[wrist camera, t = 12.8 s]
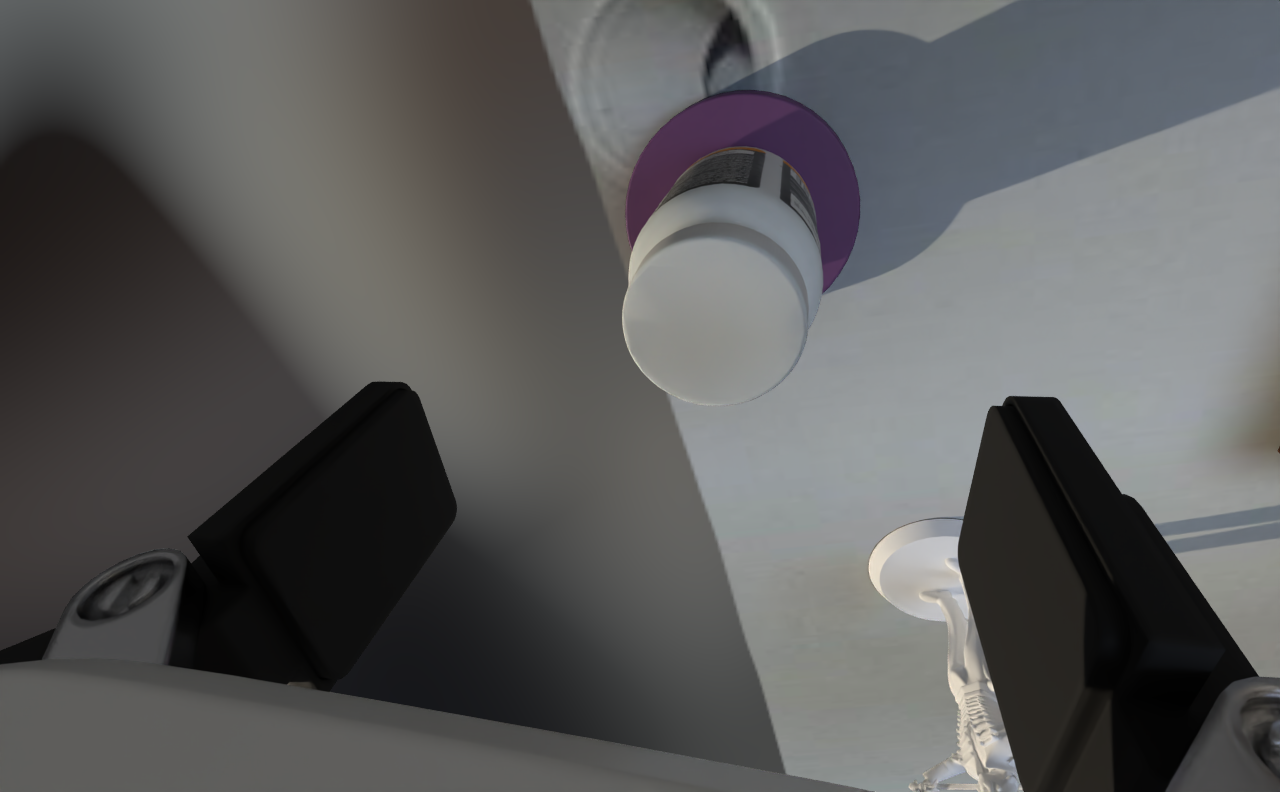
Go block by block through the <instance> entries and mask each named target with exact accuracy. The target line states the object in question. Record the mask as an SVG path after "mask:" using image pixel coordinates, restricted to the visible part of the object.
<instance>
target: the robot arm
mask: <svg viewBox="0 0 1280 792" xmlns="http://www.w3.org/2000/svg"><path fill="white" fill-rule="evenodd" d="M456 512H457V505H456V500H455V497H454V495H453V492H452V489H451V486H450V483H449V480H448V477H447V475H446V472H445V469H444V466H443V463H442V460H441V458H440V455H439V452H438V449H437V446H436V444H435V441H434V438H433V435H432V432H431V429H430V427H429V424H428V421H427V418H426V416H425V412H424V409H423V407H422V404H421V401H420V398H419V396H418V394H417V393H416V392H415V391H412V390H411V388H410V387H409V386H408V385H407V384H405V383H403V382H371V383H370V384H368V385H367V386H365V387H364V388H363V389H362V390H361V391H360V392H358V393H357V394H356V395H355V396H354V397H353V398H351V399H350V400H349V401H348V402H347V403H345V404H344V405H343V406H342V407H341V408H339V409H338V410H337V411H336V412H335V413H333V414H332V415H331V416H330V417H329V418H328V419H326V420H325V421H324V422H323V423H322V424H320V425H319V426H318V427H317V428H316V429H314V430H313V431H312V432H311V433H310V434H309V435H307V436H306V437H305V438H304V439H303V440H301V441H300V442H299V443H298V444H297V445H295V446H294V447H293V448H292V449H291V450H290V451H288V452H287V453H286V454H285V455H284V456H283V457H281V458H280V459H279V460H278V461H276V462H275V463H274V464H273V465H272V466H271V467H269V468H268V469H267V470H266V471H265V472H263V473H262V474H261V475H260V476H259V477H257V478H256V479H255V480H254V481H253V482H252V483H250V484H249V485H248V486H247V487H246V488H244V489H243V490H242V491H241V492H240V493H239V494H237V495H236V496H235V497H234V498H233V499H231V500H230V501H229V502H228V503H227V504H226V505H224V506H223V507H222V508H221V509H220V510H218V511H217V512H216V513H215V514H214V515H212V516H211V517H210V518H209V519H208V520H207V521H205V522H204V523H203V524H202V525H201V526H199V527H198V528H197V529H196V530H195V531H194V532H192V533H191V534H190V535H189V536H188V538H189V540H190V541H191V543H192V544H193V546H194V547H195V548H196V550H197V551H198V553H199V554H200V556H199V557H198V558H197V559H196V560H195V561H194V562H193V563H190V561H189V560H188V559H187V557H186V556H185V555H184V554H183V553H182V552H181V551H179V550H175V549H170V548H168V549H156V550H152V551H148V552H145V553H141V554H137V555H135V556H133V557H130V558H128V559H126V560H123V561H121V562H119V563H117V564H115V565H114V566H112V567H110V568H108V569H106V570H105V571H103V572H102V573H100V574H99V575H97V576H96V577H94V578H93V579H92V580H90V581H89V582H88V583H87V584H85V585H84V586H83V587H82V588H81V589H80V590H79V591H78V592H77V593H76V594H75V595H74V596H73V597H72V599H71V600H70V601H69V603H68V604H67V606H66V608H65V609H64V611H63V614H62V616H61V618H60V620H59V623H58V625H57V627H56V628H55V629H52V630H50V631H47V632H45V633H42V634H40V635H38V636H35V637H33V638H30V639H28V640H25V641H23V642H21V643H18V644H16V645H13V646H11V647H8V648H6V649H3V650H1V651H0V792H873V791H868V790H863V789H858V788H853V787H848V786H843V785H838V784H834V783H829V782H823V781H818V780H813V779H807V778H802V777H796V776H791V775H785V774H780V773H775V772H769V771H764V770H758V769H753V768H747V767H742V766H737V765H731V764H726V763H721V762H715V761H710V760H704V759H699V758H693V757H688V756H683V755H677V754H672V753H666V752H661V751H656V750H650V749H645V748H639V747H633V746H629V745H623V744H618V743H612V742H607V741H601V740H595V739H590V738H585V737H579V736H574V735H568V734H562V733H557V732H551V731H546V730H540V729H535V728H529V727H523V726H518V725H512V724H507V723H501V722H496V721H490V720H485V719H479V718H473V717H468V716H462V715H457V714H451V713H445V712H439V711H434V710H429V709H423V708H417V707H412V706H406V705H400V704H395V703H389V702H384V701H378V700H371V699H366V698H360V697H354V696H349V695H343V694H337V693H332V692H330V690H331V689H332V687H333V686H334V684H335V683H336V682H337V680H339V679H341V678H343V677H344V676H346V675H347V674H348V673H349V671H350V670H351V669H352V667H353V666H354V664H355V663H356V662H357V660H358V659H359V657H360V656H361V654H362V653H363V651H364V650H365V649H366V647H367V646H368V644H369V643H370V641H371V640H372V638H373V637H374V635H375V634H376V633H377V631H378V630H379V628H380V627H381V625H382V624H383V623H384V621H385V620H386V618H387V617H388V615H389V614H390V612H391V611H392V610H393V608H394V607H395V605H396V604H397V602H398V601H399V600H400V598H401V597H402V595H403V594H404V592H405V591H406V589H407V588H408V586H409V585H410V583H411V582H412V581H413V579H414V578H415V576H416V575H417V574H418V572H419V571H420V569H421V568H422V566H423V565H424V563H425V562H426V561H427V559H428V558H429V556H430V555H431V553H432V552H433V551H434V549H435V548H436V546H437V545H438V543H439V542H440V540H441V539H442V538H443V536H444V535H445V533H446V532H447V530H448V529H449V527H450V526H451V525H452V523H453V521H454V519H455V517H456ZM958 563H959V568H960V571H961V575H962V578H963V582H964V586H965V589H966V593H967V596H968V600H969V603H970V607H971V610H972V614H973V617H974V621H975V624H976V628H977V631H978V635H979V638H980V642H981V646H982V649H983V653H984V656H985V660H986V663H987V667H988V670H989V674H990V677H991V681H992V684H993V688H994V691H995V695H996V699H997V702H998V706H999V709H1000V713H1001V716H1002V720H1003V723H1004V727H1005V730H1006V734H1007V737H1008V741H1009V744H1010V748H1011V752H1012V755H1013V759H1014V762H1015V766H1016V769H1017V773H1018V776H1019V780H1020V783H1021V786H1022V789H1023V791H1024V792H1280V678H1273V677H1259V676H1258V674H1257V673H1256V671H1255V670H1254V668H1253V667H1252V666H1251V664H1250V663H1249V661H1248V660H1247V658H1246V657H1245V655H1244V654H1243V653H1242V651H1241V650H1240V648H1239V647H1238V645H1237V644H1236V642H1235V641H1234V640H1233V638H1232V637H1231V635H1230V634H1229V632H1228V631H1227V629H1226V628H1225V626H1224V625H1223V624H1222V622H1221V621H1220V619H1219V618H1218V616H1217V615H1216V613H1215V612H1214V611H1213V609H1212V608H1211V606H1210V605H1209V603H1208V602H1207V600H1206V599H1205V598H1204V596H1203V595H1202V593H1201V592H1200V590H1199V589H1198V587H1197V586H1196V585H1195V583H1194V582H1193V580H1192V579H1191V577H1190V576H1189V574H1188V573H1187V571H1186V570H1185V569H1184V567H1183V566H1182V564H1181V563H1180V561H1179V560H1178V558H1177V557H1176V556H1175V554H1174V553H1173V551H1172V550H1171V548H1170V547H1169V545H1168V544H1167V543H1166V541H1165V540H1164V538H1163V537H1162V535H1161V534H1160V532H1159V531H1158V530H1157V528H1156V527H1155V525H1154V524H1153V522H1152V521H1151V519H1150V518H1149V516H1148V515H1147V514H1146V512H1145V511H1144V509H1143V508H1142V506H1141V505H1140V504H1139V503H1138V502H1137V501H1136V500H1135V499H1134V498H1132V497H1130V496H1128V495H1126V494H1121V492H1120V491H1119V489H1118V488H1117V486H1116V485H1115V483H1114V482H1113V480H1112V479H1111V477H1110V476H1109V474H1108V473H1107V471H1106V470H1105V468H1104V467H1103V465H1102V464H1101V462H1100V461H1099V459H1098V458H1097V456H1096V455H1095V453H1094V452H1093V450H1092V449H1091V447H1090V446H1089V444H1088V443H1087V441H1086V440H1085V438H1084V437H1083V435H1082V434H1081V432H1080V431H1079V429H1078V428H1077V426H1076V425H1075V423H1074V422H1073V420H1072V419H1071V417H1070V416H1069V414H1068V413H1067V411H1066V410H1065V408H1064V407H1063V405H1062V404H1061V402H1060V401H1059V400H1058V399H1057V398H1054V397H1025V396H1009V397H1007V398H1006V399H1005V401H1004V403H1003V406H992V407H990V409H989V411H988V414H987V418H986V422H985V427H984V431H983V435H982V440H981V444H980V449H979V453H978V457H977V462H976V466H975V471H974V475H973V480H972V484H971V488H970V493H969V497H968V502H967V506H966V510H965V515H964V519H963V524H962V528H961V532H960V537H959V542H958ZM287 684H288V685H287Z"/></svg>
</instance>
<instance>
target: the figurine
mask: <svg viewBox="0 0 1280 792" xmlns="http://www.w3.org/2000/svg"><path fill="white" fill-rule="evenodd" d="M962 524H963V520H958V519H932V520H923V521H919V522H915V523H911V524H908V525H906V526H904V527H901V528H899V529H897V530H895V531H894V532H892V533H890V534H889V535H887V536H886V537H885V538H884V539H883V540H882V541H881V542H879V543H878V545H877V546H876V548H875V549H874V551H873V552H872V555H871V557H870V560H869V574H870V578H871V581H872V583H873V585H874V586H875V588H876V589H877V590H878V592H879V593H880V594H881V595H882V596H883V597H884V598H885V599H887V600H888V601H889V602H890V603H892V604H893V605H894V606H896V607H897V608H898V609H900V610H901V611H903V612H905V613H907V614H909V615H912V616H915V617H918V618H922V619H927V620H932V621H947V625H948V638H949V648H948V681H949V686H950V689H951V691H952V693H953V695H954V696H955V697H956V698H955V700H956V702H957V703H958V704H959V709H960V710H958V712H959V713H961V714H959V713H958V714H957V715H958V716H959V717H961V718H957V720H958V721H959V722H961V723H957V725H958V726H959V727H960V728H959V729H956V731H957V732H958V733H960V735H957V738H958V739H959V740H960V741H959V742H957V745H958V746H959V747H960V748H961V749H960V750H957V753H956V754H955V753H952V756H951V757H949V758H948V759H946V760H945V761H943V762H941V763H939V764H938V765H936V766H934V767H932V768H931V769H929V770H927V771H926V772H925V773H923V776H924V777H925V780H924V781H923V783H919V784H917V781H916V780H915V781H914V783H910V785H909V788H910V789H911V790H912V791H914V792H917V791H918V790H920V792H939V789H976V790H978V792H1018V790H1023V789H1022V786H1021V784H1018V782H1017V772H1016V766H1015V762H1014V759H1013V755H1012V752H1011V748H1010V744H1009V741H1008V737H1007V734H1006V730H1005V727H1004V723H1003V720H1002V716H1001V713H1000V709H999V706H998V702H997V699H996V695H995V691H994V688H993V684H992V681H991V677H990V674H989V670H988V667H987V663H986V660H985V656H984V653H983V649H982V646H981V642H980V638H979V635H978V631H977V628H976V624H975V621H974V617H973V614H972V610H971V607H970V603H969V600H968V596H967V593H966V589H965V586H964V582H963V578H962V575H961V571H960V568H959V563H958V542H959V537H960V532H961V528H962ZM966 619H968V623H967V620H966ZM964 772H968V774H969V775H970V776H971V777H972V778H974V779H976V780H978V784H938V782H941V781H943V780H946V779H948V778H951V777H953V776H956V775H958V774H961V773H964Z"/></svg>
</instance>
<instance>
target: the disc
mask: <svg viewBox="0 0 1280 792" xmlns="http://www.w3.org/2000/svg"><path fill="white" fill-rule="evenodd" d="M740 146H747V147H756V148H759V149H763V150H766V151H769V152H771V153H773V154H775V155H777V156H779V157H781V158H782V159H784V160H785V161H786V162H787V163H789V164H790V165H791V166H792V167H793V168H794V169H795V170H796V171H797V172H798V173H799V174H800V176H801V177H802V179H803V180H804V182H805V184H806V186H807V188H808V190H809V192H810V195H811V198H812V201H813V204H814V209H815V213H816V222H817V230H818V236H819V241H820V249H821V261H822V268H823V291H822V294H823V293H824V292H825V291H826V290H827V289H828V288H829V287H830V286H831V284H832V283H833V282H834V280H835V279H836V278H837V277H838V275H839V274H840V272H841V271H842V269H843V267H844V265H845V264H846V262H847V260H848V258H849V256H850V253H851V251H852V249H853V246H854V243H855V239H856V236H857V232H858V226H859V219H860V195H859V187H858V182H857V178H856V174H855V171H854V167H853V165H852V162H851V160H850V158H849V156H848V153H847V151H846V149H845V147H844V145H843V144H842V142H841V141H840V139H839V137H838V136H837V134H836V133H835V132H834V131H833V130H832V128H831V127H830V126H829V125H828V124H827V123H826V122H825V121H824V120H823V119H822V118H821V117H820V116H818V115H817V114H816V113H815V112H814V111H812V110H811V109H809V108H808V107H806V106H804V105H803V104H801V103H799V102H797V101H795V100H793V99H790V98H788V97H786V96H782V95H779V94H775V93H771V92H765V91H756V90H740V91H732V92H726V93H720V94H717V95H714V96H711V97H708V98H705V99H703V100H701V101H699V102H697V103H695V104H693V105H691V106H689V107H688V108H686V109H685V110H683V111H682V112H680V113H679V114H677V115H676V116H675V117H673V118H672V119H671V120H670V121H669V122H667V123H666V124H665V125H664V126H663V127H662V128H661V129H660V130H659V131H658V132H657V133H656V134H655V136H654V137H653V138H652V139H651V140H650V141H649V143H648V145H647V146H646V148H645V149H644V151H643V152H642V154H641V155H640V158H639V160H638V162H637V164H636V166H635V168H634V170H633V173H632V176H631V179H630V182H629V187H628V192H627V197H626V209H625V217H626V230H627V235H628V241H629V244H630V247H631V251H633V247H634V244H635V242H636V240H637V237H638V235H639V233H640V232H641V230H642V228H643V227H644V225H645V224H646V222H647V221H648V219H649V218H650V217H651V215H652V214H653V213H654V211H655V210H656V209H657V207H658V206H659V204H660V203H661V202H662V200H663V199H664V197H665V196H666V195H667V194H668V192H669V191H670V190H671V188H672V187H673V185H674V184H675V182H676V181H677V179H678V178H679V177H680V176H681V175H682V174H683V173H684V172H685V171H686V170H687V169H688V168H689V167H690V166H691V165H692V164H694V163H695V162H696V161H698V160H699V159H701V158H702V157H704V156H706V155H708V154H710V153H712V152H714V151H717V150H720V149H724V148H728V147H740Z"/></svg>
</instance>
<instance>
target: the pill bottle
mask: <svg viewBox="0 0 1280 792" xmlns="http://www.w3.org/2000/svg"><path fill="white" fill-rule="evenodd" d="M628 278H629V287H628V290H627V293H626V296H625V299H624V304H623V312H622V324H623V331H624V337H625V340H626V344H627V346H628V349H629V352H630V354H631V356H632V357H633V359H634V361H635V362H636V364H637V366H638V367H639V368H640V370H641V371H642V372H643V373H644V374H645V375H646V376H647V377H648V378H649V379H650V380H651V381H652V382H653V383H654V384H655V385H657V386H658V387H660V388H661V389H663V390H664V391H666V392H668V393H669V394H671V395H673V396H675V397H677V398H680V399H682V400H685V401H688V402H692V403H696V404H701V405H708V406H727V405H734V404H739V403H743V402H747V401H750V400H753V399H755V398H758V397H760V396H762V395H764V394H765V393H767V392H769V391H770V390H772V389H773V388H775V387H776V386H777V385H778V384H780V383H781V382H782V381H783V380H784V379H785V378H786V377H787V376H788V374H789V373H790V372H791V371H792V370H793V368H794V367H795V365H796V364H797V362H798V360H799V358H800V356H801V354H802V352H803V349H804V346H805V343H806V339H807V334H808V329H809V328H810V326H811V324H812V322H813V320H814V318H815V316H816V313H817V311H818V307H819V304H820V300H821V296H822V291H823V268H822V261H821V249H820V241H819V236H818V230H817V222H816V213H815V209H814V204H813V201H812V198H811V195H810V192H809V190H808V188H807V186H806V184H805V182H804V180H803V179H802V177H801V176H800V174H799V173H798V172H797V171H796V170H795V169H794V168H793V167H792V166H791V165H790V164H789V163H787V162H786V161H785V160H784V159H782V158H781V157H779V156H777V155H775V154H773V153H771V152H769V151H766V150H763V149H759V148H756V147H747V146H740V147H728V148H724V149H720V150H717V151H714V152H712V153H710V154H708V155H706V156H704V157H702V158H701V159H699V160H698V161H696V162H695V163H694V164H692V165H691V166H690V167H689V168H688V169H687V170H686V171H685V172H684V173H683V174H682V175H681V176H680V177H679V178H678V179H677V181H676V182H675V184H674V185H673V187H672V188H671V190H670V191H669V192H668V194H667V195H666V196H665V197H664V199H663V200H662V202H661V203H660V204H659V206H658V207H657V209H656V210H655V211H654V213H653V214H652V215H651V217H650V218H649V219H648V221H647V222H646V224H645V225H644V227H643V228H642V230H641V232H640V233H639V235H638V237H637V240H636V242H635V244H634V247H633V251H632V254H631V258H630V264H629V275H628Z"/></svg>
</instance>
